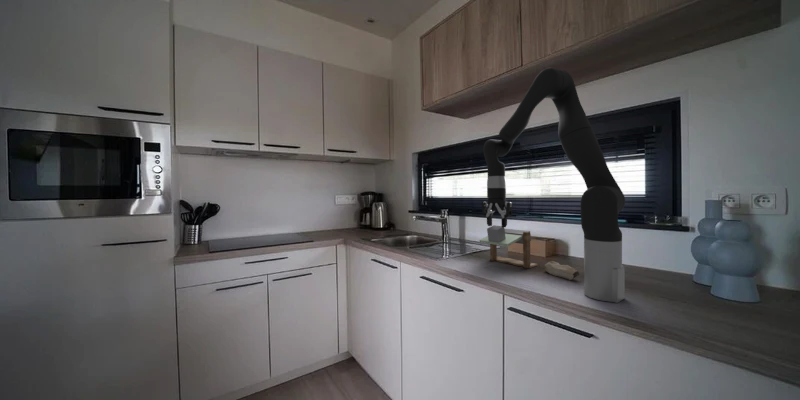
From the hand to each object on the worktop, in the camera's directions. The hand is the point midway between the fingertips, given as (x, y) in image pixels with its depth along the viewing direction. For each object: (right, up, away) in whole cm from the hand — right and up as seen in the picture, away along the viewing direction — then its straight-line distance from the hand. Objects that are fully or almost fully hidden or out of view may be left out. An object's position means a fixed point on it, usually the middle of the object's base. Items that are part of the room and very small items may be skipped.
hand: (496, 226), depth 119 cm
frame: (+10, -17, +7) cm, 21 cm away
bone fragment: (+20, -18, -13) cm, 30 cm away
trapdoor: (+6, -9, +4) cm, 11 cm away
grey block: (0, -6, 0) cm, 6 cm away
